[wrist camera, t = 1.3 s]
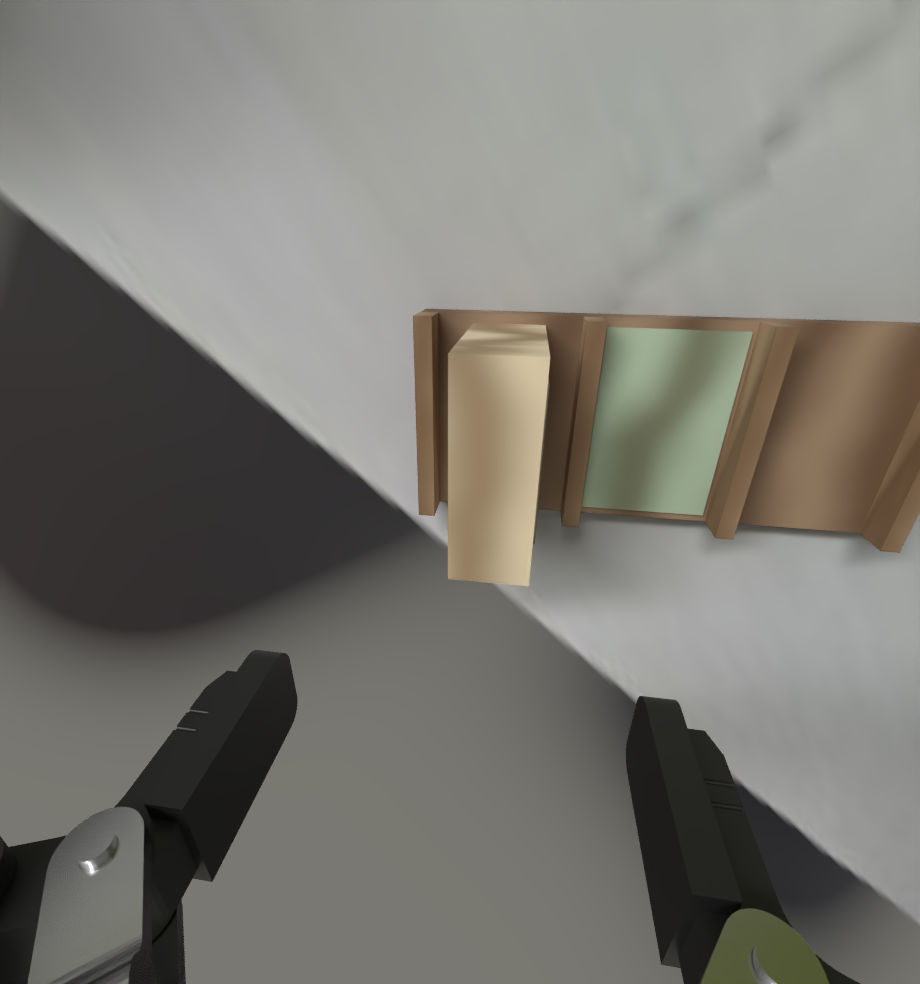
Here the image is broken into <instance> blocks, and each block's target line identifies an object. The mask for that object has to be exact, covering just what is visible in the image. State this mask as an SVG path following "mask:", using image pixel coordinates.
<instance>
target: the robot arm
mask: <svg viewBox="0 0 920 984" xmlns="http://www.w3.org/2000/svg"><path fill="white" fill-rule="evenodd" d="M296 710H297V693H296V689H295V683H294V679H293V674H292V669H291V664H290V659H289V656H288V655H287V654H285V653H278V652H270V651H261V650H255V651H252V652H251V653H250V654H249V655H248V656H247V658H246V659H245V661H244V662H243V663H242V665H241V667H240V668H239V669H238V671H237V672H233V671H226V672H225V673H224V674H222V676H220V677H219V678H217V679H216V680H215V681H213V682H212V683H211V684H210V685H208V686H207V687H206V688H205V689H204V690H203V692H202V693H201V694H200V696H199V697H198V699H197V700H196V701H195V703H194V704H193V705H192V706H191V708H190V712H189V713H186V715H185V716H184V717H183V718H182V720H181V721H180V723H179V724H178V725H177V729H176V730H173V732H172V733H171V734H170V736H169V737H168V738H167V740H166V741H165V743H164V744H163V745H162V746H161V748H160V749H159V750H158V752H157V753H156V754H155V756H154V757H153V758H152V760H151V761H150V762H149V764H148V765H147V766H146V768H145V769H144V770H143V772H142V773H141V775H140V776H139V777H138V778H137V780H136V781H135V782H134V784H133V785H132V787H131V788H130V789H129V790H128V792H127V793H126V795H125V796H124V797H123V798H122V799H121V800H120V802H119V803H118V804H117V805H116V806H115V807H114V808H110V809H107V810H104V811H101V812H99V813H97V814H95V815H93V816H91V817H89V818H88V819H86V820H85V821H83V822H82V823H81V824H79V825H78V826H77V827H75V828H74V829H73V830H72V831H71V832H70V833H69V834H68V835H66V836H62V837H58V838H53V839H48V840H43V841H38V842H33V843H27V844H22V845H17V846H12V847H8V846H7V845H6V843H5V842H4V841H3V839H2V838H1V837H0V984H186V974H185V951H184V927H183V905H182V897H183V895H184V893H185V891H186V889H187V887H188V886H189V884H190V882H191V880H192V878H194V879H199V880H205V881H211V882H212V881H213V879H214V877H215V875H216V874H217V871H218V869H219V867H220V866H221V864H222V861H223V860H224V858H225V856H226V854H227V852H228V850H229V847H230V846H231V844H232V842H233V840H234V838H235V836H236V834H237V832H238V830H239V828H240V826H241V824H242V822H243V820H244V818H245V817H246V814H247V812H248V811H249V809H250V807H251V805H252V803H253V801H254V799H255V797H256V795H257V793H258V791H259V789H260V787H261V785H262V783H263V781H264V779H265V777H266V775H267V773H268V771H269V769H270V767H271V765H272V764H273V762H274V760H275V757H276V756H277V754H278V752H279V750H280V748H281V746H282V744H283V742H284V740H285V738H286V736H287V734H288V732H289V730H290V728H291V726H292V724H293V721H294V718H295V715H296ZM626 765H627V766H626V767H627V774H628V780H629V786H630V791H631V797H632V803H633V808H634V814H635V819H636V825H637V830H638V836H639V842H640V848H641V853H642V859H643V864H644V870H645V876H646V881H647V887H648V893H649V898H650V904H651V909H652V915H653V921H654V926H655V932H656V937H657V943H658V949H659V954H660V960H661V964H662V965H667V966H673V967H678V968H681V972H682V976H683V981H684V984H860V983H858V982H856V981H854V980H852V979H850V978H848V977H847V976H845V975H843V974H841V973H840V972H838V971H836V970H835V969H833V968H832V967H831V966H829V965H828V964H826V963H825V962H824V961H823V960H822V959H820V958H819V957H818V956H817V955H816V954H815V953H814V952H813V951H812V949H811V948H810V947H809V945H808V944H807V943H806V941H805V940H804V939H803V938H802V937H801V936H800V935H799V934H798V933H797V932H796V931H795V930H794V929H793V927H792V926H791V925H790V923H789V922H788V920H787V918H786V916H785V915H784V913H783V911H782V908H781V906H780V904H779V901H778V899H777V896H776V893H775V891H774V889H773V886H772V883H771V880H770V878H769V875H768V872H767V870H766V867H765V864H764V861H763V859H762V856H761V853H760V851H759V848H758V846H757V843H756V840H755V838H754V835H753V832H752V829H751V827H750V824H749V821H748V819H747V816H746V813H745V812H743V808H742V807H743V805H742V803H741V800H740V797H739V795H738V792H737V789H736V788H734V781H733V779H732V776H731V773H730V771H729V768H728V765H727V763H726V760H725V757H724V755H723V754H722V753H721V751H720V750H719V749H718V747H717V746H716V745H715V744H714V742H713V741H712V740H711V738H710V737H709V736H708V735H707V733H706V732H705V731H702V730H694V729H687V726H686V723H685V720H684V716H683V713H682V710H681V707H680V705H679V703H678V702H677V701H676V700H670V699H662V698H653V697H645V696H639V698H638V700H637V703H636V707H635V711H634V715H633V719H632V723H631V727H630V731H629V735H628V739H627V744H626Z"/></svg>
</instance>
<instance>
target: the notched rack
mask: <svg viewBox="0 0 920 984" xmlns="http://www.w3.org/2000/svg"><path fill="white" fill-rule="evenodd" d="M473 323H494V324H526V325H546V331H547V338H548V345H549V351H550V367H549V386H550V387H549V397H548V407H547V418H546V428H545V439H544V449H543V459H542V470H541V480H540V491H539V501H538V509H548V510H560V512H561V522H562V526H569V527H579V520H580V513H581V512H588V513H601V514H615V515H628V516H641V517H655V518H668V519H681V520H694V521H705V522H706V524H707V526H708V527H709V529H710V530H711V532H712V534H713V535H714V537H715V538H721V539H733V538H734V535H735V532H736V529H737V525H738V524H748V525H761V526H774V527H787V528H801V529H814V530H827V531H841V532H854V533H860V534H861V535H863V536H864V537H865V538H866V539H867V540H868V541H869V542H871V543H872V544H873V545H874V546H875V547H876V548H877V549H879V550H880V551H886V552H899V553H900V551H901V549H902V547H903V545H904V543H905V541H906V539H907V537H908V535H909V533H910V531H911V529H912V527H913V525H914V523H915V521H916V519H917V517H918V515H919V513H920V323H907V322H871V321H836V320H800V319H765V318H729V317H693V316H658V315H622V314H587V313H551V312H516V311H480V310H444V309H425V310H423V311H422V312H420V313H418V314H416V315H414V316H413V335H414V368H415V401H416V433H417V466H418V499H419V515H430V516H435V513H436V510H437V508H438V505H439V502H440V501H442V502H448V353H449V352H450V351H451V349H452V348H453V347H454V346H455V345H456V343H457V342H458V341H459V340H460V338H461V337H462V336H463V335H464V334H465V332H466V331H467V330H468V329H469V328H470V326H471V325H472V324H473Z"/></svg>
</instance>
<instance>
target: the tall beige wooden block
mask: <svg viewBox="0 0 920 984" xmlns="http://www.w3.org/2000/svg"><path fill="white" fill-rule="evenodd" d="M549 367H550V351H549V345H548V338H547V331H546V325H526V324H494V323H473V324H472V325H471V326H470V328H469V329H468V330H467V331H466V332H465V334H464V335H463V336H462V337H461V338H460V340H459V341H458V342H457V343H456V345H455V346H454V347H453V348H452V349H451V351H450V352H449V353H448V579H455V580H466V581H477V582H487V583H498V584H508V585H519V586H529V579H530V568H531V557H532V547H533V544H534V543H535V532H536V522H537V511H538V501H539V491H540V480H541V470H542V459H543V449H544V439H545V428H546V418H547V407H548V397H549V387H550V386H549Z"/></svg>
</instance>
